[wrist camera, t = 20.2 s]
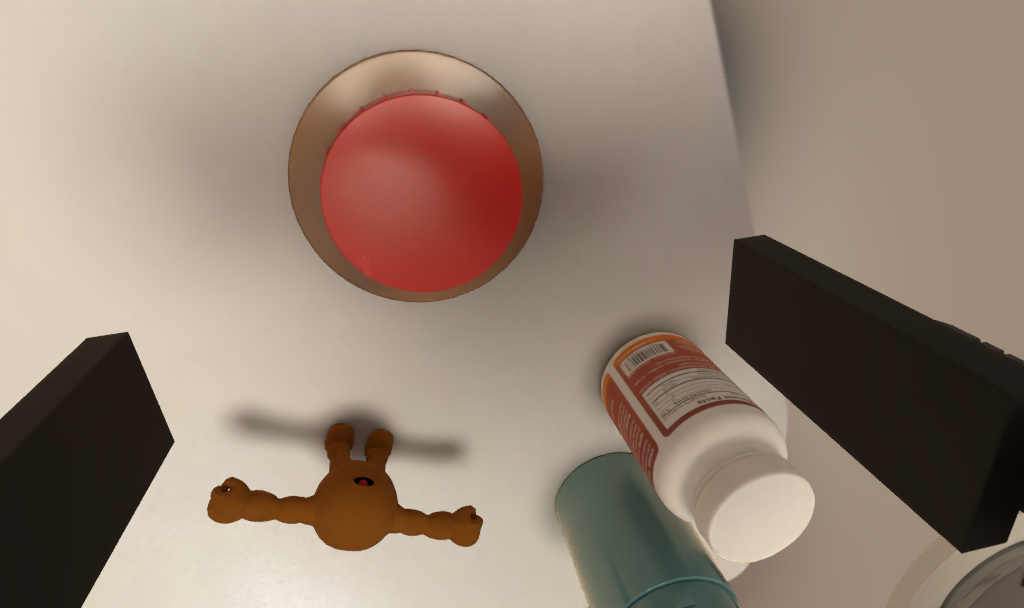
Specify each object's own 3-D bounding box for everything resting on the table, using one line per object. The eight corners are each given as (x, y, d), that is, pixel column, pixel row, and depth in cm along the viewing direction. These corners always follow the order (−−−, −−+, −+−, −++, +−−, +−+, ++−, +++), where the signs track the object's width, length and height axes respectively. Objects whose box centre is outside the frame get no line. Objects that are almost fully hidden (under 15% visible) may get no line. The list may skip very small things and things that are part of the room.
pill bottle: (665, 431, 34) (777, 588, 24) (578, 406, 32) (662, 566, 22) (718, 345, 32) (863, 478, 23) (630, 313, 30) (746, 443, 21)
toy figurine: (476, 427, 32) (497, 519, 26) (457, 480, 33) (472, 578, 27) (246, 390, 28) (206, 486, 22) (234, 450, 29) (193, 556, 23)
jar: (680, 464, 36) (789, 624, 26) (629, 546, 38) (713, 720, 28) (585, 442, 34) (665, 607, 24) (537, 529, 36) (593, 713, 26)
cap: (385, 45, 22) (385, 45, 20) (548, 158, 25) (562, 168, 23) (290, 217, 24) (280, 234, 22) (451, 303, 27) (456, 324, 25)
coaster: (579, 118, 26) (585, 120, 25) (482, 324, 29) (485, 331, 28) (338, -2, 22) (336, -3, 21) (259, 250, 25) (255, 256, 25)
